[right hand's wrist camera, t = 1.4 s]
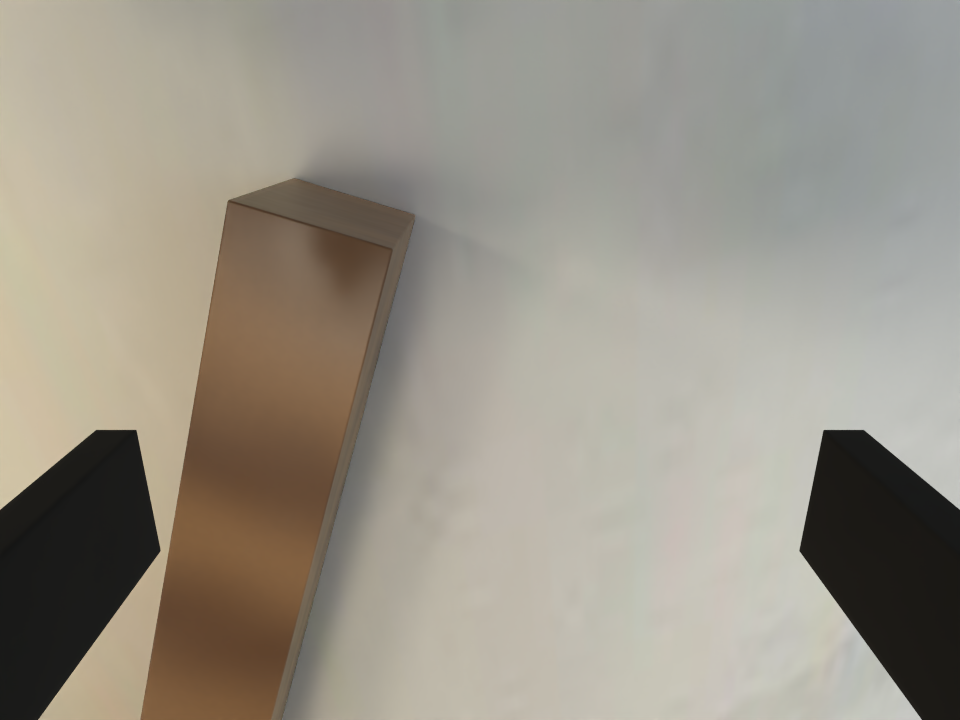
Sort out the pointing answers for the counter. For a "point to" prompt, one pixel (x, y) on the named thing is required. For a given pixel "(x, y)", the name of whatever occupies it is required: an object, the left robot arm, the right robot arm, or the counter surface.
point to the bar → (270, 443)
